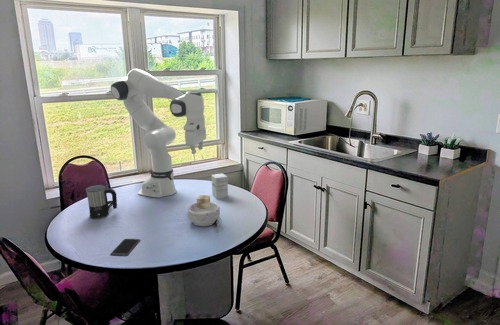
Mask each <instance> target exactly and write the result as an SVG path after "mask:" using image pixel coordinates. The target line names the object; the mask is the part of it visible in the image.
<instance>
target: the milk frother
mask: <svg viewBox="0 0 500 325" xmlns="http://www.w3.org/2000/svg"><path fill="white" fill-rule="evenodd" d="M85 191H86V196H87V202H88V203H87V204H88V209H89V210H88V211H89V218H91V219H102V218H104V217H107V216H109V215H110V212H109V209H110V208H111V207H112V208H113V210H116V209H117V208H118V203H117V202H118V199H117V192H116V190H115V189H114V188H106V185H102V184H97V185H96V184H95V185H91V186H88V187H86V188H85ZM107 194H111V196H112V198H111V200H108V195H107Z"/></svg>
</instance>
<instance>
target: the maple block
mask: <svg viewBox="0 0 500 325" xmlns="http://www.w3.org/2000/svg"><path fill="white" fill-rule="evenodd" d="M210 202H211V196H210V195H207V194H206V195H205V194H203V195H202V194H200V195H198V197H196V203H197V209H208V208H209V206H210Z"/></svg>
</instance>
